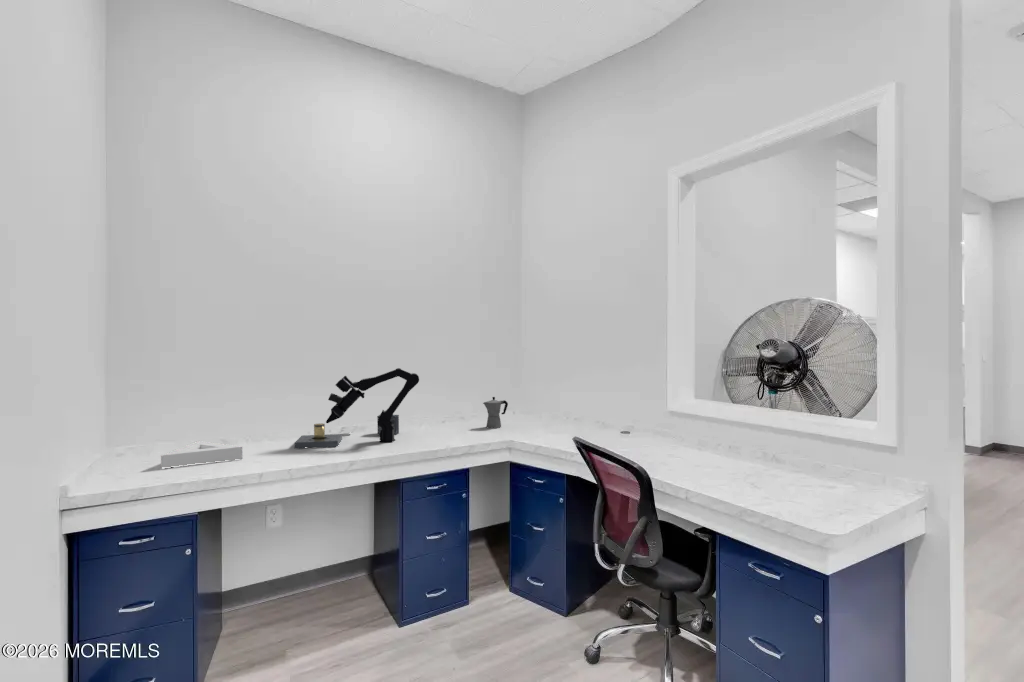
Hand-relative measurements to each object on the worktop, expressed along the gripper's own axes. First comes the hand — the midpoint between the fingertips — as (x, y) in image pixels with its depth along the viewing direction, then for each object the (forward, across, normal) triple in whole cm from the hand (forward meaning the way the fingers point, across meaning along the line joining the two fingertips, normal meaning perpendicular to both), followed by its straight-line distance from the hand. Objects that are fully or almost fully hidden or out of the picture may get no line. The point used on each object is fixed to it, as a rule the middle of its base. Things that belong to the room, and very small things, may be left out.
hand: (327, 421), depth 267 cm
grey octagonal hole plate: (+11, 0, +5) cm, 12 cm away
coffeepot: (-55, -30, +73) cm, 97 cm away
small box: (-12, -21, +29) cm, 38 cm away
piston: (+11, 0, +5) cm, 12 cm away
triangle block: (+40, +26, -24) cm, 54 cm away
